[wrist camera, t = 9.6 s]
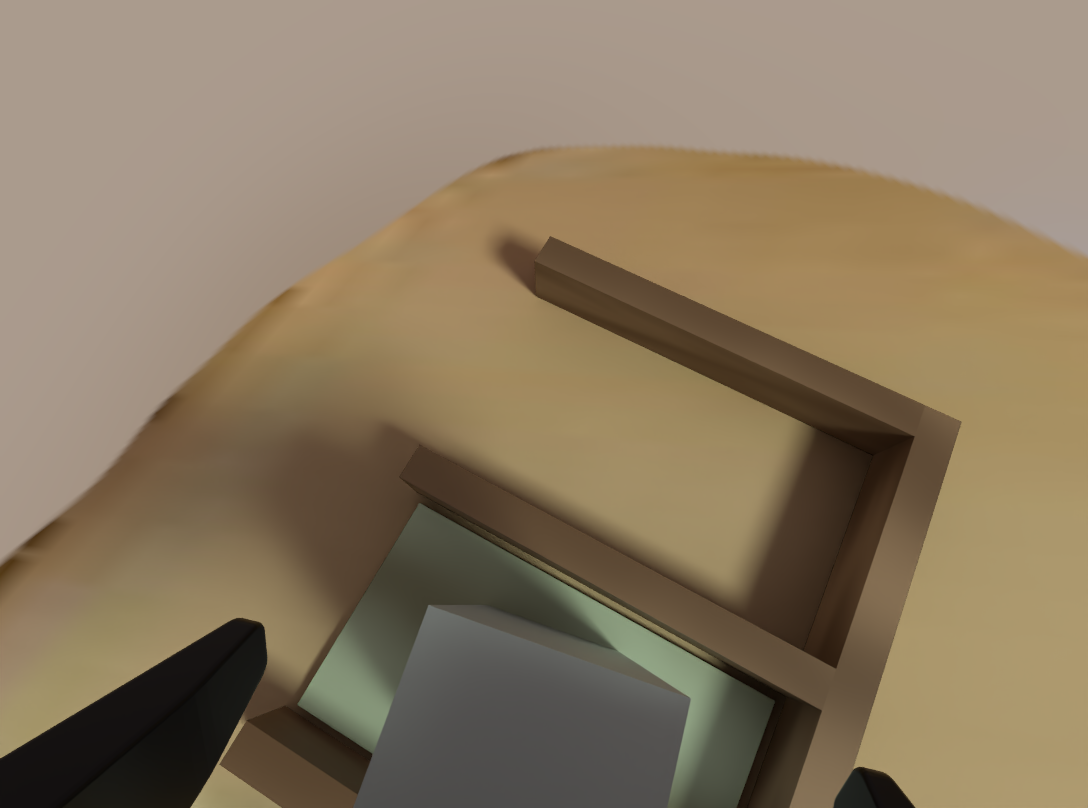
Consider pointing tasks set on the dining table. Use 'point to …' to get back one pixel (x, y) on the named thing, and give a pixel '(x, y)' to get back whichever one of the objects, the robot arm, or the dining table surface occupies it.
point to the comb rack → (644, 579)
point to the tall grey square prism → (522, 721)
